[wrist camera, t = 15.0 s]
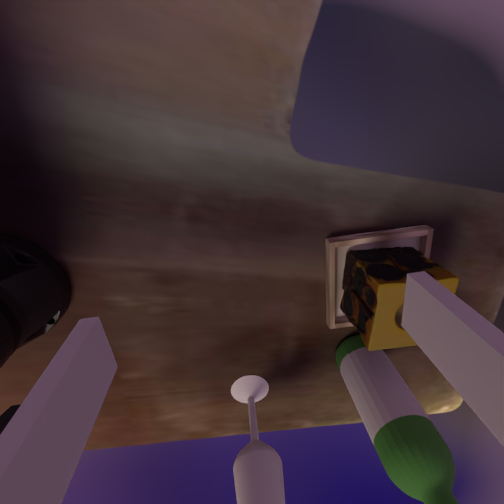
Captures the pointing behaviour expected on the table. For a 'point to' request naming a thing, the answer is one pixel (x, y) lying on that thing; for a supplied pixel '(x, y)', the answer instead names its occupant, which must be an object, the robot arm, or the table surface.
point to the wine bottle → (397, 424)
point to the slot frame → (341, 245)
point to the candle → (384, 292)
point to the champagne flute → (256, 452)
